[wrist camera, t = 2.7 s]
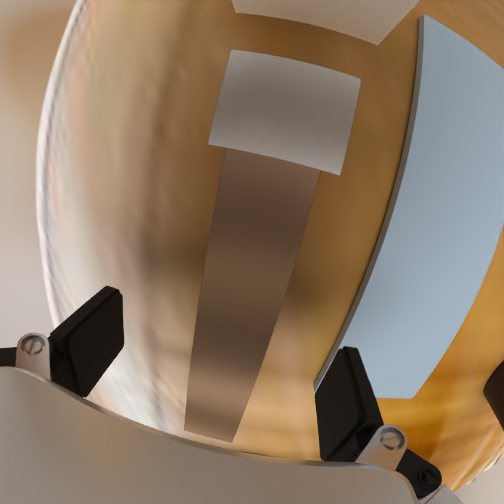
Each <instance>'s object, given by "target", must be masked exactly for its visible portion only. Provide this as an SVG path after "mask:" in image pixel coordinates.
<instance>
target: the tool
mask: <svg viewBox="0 0 504 504" xmlns="http://www.w3.org/2000/svg"><path fill="white" fill-rule="evenodd" d="M360 84H361V79H360V78H357V77H354V76H351V75H348V74H345V73H342V72H339V71H335V70H332V69H329V68H325V67H322V66H318V65H314V64H310V63H306V62H302V61H298V60H293V59H289V58H284V57H279V56H274V55H268V54H262V53H255V52H248V51H241V50H231V53H230V57H229V60H228V64H227V67H226V71H225V75H224V79H223V82H222V86H221V90H220V94H219V98H218V102H217V106H216V110H215V114H214V119H213V123H212V127H211V132H210V136H209V141H208V144H210V145H215V146H220V147H225V148H227V150H226V155H225V160H224V164H223V169H222V174H221V179H220V184H219V189H218V194H217V199H216V204H215V209H214V214H213V220H212V225H211V231H210V236H209V242H208V248H207V253H206V259H205V265H204V271H203V278H202V284H201V291H200V297H199V304H198V311H197V318H196V325H195V333H194V340H193V348H192V356H191V365H190V374H189V383H188V392H187V402H186V413H185V425H184V430H185V431H188V432H192V433H195V434H199V435H203V436H206V437H210V438H214V439H218V440H223V441H227V442H232V441H233V439H234V436H235V434H236V431H237V429H238V426H239V424H240V421H241V419H242V416H243V413H244V411H245V408H246V406H247V403H248V400H249V398H250V395H251V392H252V390H253V387H254V384H255V381H256V379H257V376H258V373H259V370H260V368H261V365H262V362H263V359H264V356H265V353H266V351H267V348H268V345H269V342H270V339H271V336H272V333H273V330H274V327H275V324H276V321H277V318H278V315H279V312H280V309H281V306H282V303H283V299H284V296H285V293H286V290H287V287H288V284H289V280H290V277H291V274H292V271H293V267H294V264H295V261H296V257H297V254H298V251H299V247H300V244H301V240H302V237H303V233H304V230H305V226H306V223H307V219H308V216H309V212H310V209H311V205H312V201H313V197H314V194H315V190H316V186H317V182H318V178H319V175H320V171H321V170H322V171H326V172H329V173H333V174H336V175H340V173H341V170H342V166H343V162H344V158H345V154H346V149H347V145H348V141H349V137H350V132H351V128H352V123H353V119H354V114H355V110H356V105H357V100H358V95H359V90H360Z"/></svg>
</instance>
